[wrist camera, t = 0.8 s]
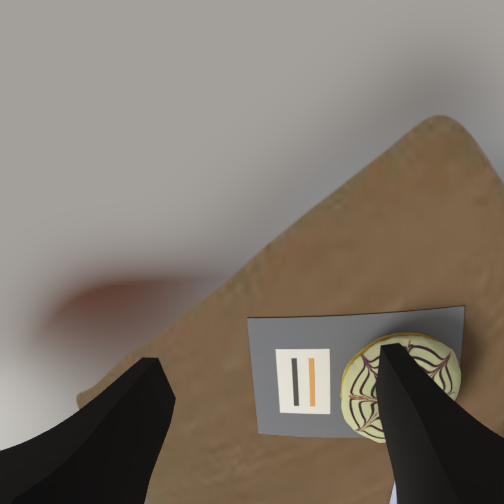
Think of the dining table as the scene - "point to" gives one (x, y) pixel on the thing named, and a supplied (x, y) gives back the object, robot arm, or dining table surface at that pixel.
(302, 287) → the dining table surface
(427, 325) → the label mat
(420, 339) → the decorated donut
